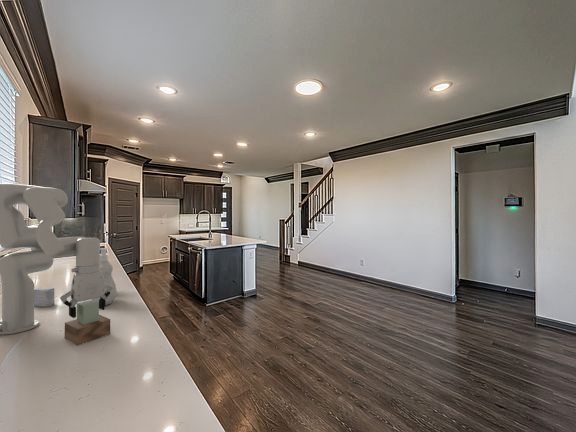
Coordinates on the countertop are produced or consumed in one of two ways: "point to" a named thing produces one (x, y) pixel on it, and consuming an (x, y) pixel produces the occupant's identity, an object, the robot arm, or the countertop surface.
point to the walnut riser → (86, 330)
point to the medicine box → (44, 297)
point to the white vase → (107, 276)
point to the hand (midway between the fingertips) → (87, 313)
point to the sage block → (87, 312)
